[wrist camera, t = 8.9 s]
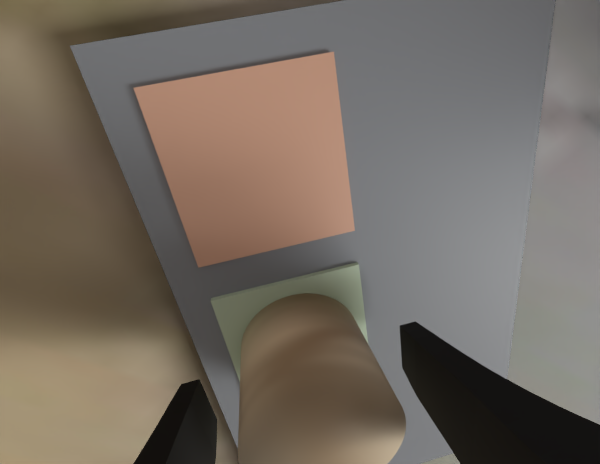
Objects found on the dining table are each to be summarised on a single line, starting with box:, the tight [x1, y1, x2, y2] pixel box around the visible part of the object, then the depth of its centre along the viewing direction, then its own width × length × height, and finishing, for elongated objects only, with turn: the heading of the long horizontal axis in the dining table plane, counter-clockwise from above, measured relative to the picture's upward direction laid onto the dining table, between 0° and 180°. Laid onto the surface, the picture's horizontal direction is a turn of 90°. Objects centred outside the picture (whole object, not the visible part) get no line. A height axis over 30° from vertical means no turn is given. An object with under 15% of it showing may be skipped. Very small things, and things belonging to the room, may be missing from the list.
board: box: [70, 0, 556, 464], centre depth 13 cm, size 14×22×1 cm, turn 10°
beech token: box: [238, 293, 406, 464], centre depth 10 cm, size 5×5×4 cm
